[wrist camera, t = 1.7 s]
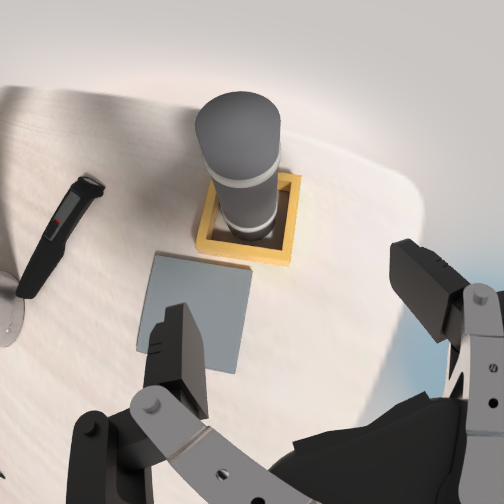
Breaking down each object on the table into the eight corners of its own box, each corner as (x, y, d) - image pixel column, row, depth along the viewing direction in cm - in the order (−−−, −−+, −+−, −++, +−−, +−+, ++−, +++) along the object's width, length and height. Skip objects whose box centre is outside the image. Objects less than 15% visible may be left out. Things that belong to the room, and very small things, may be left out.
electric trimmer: (24, 289, 28) (6, 285, 25) (89, 177, 31) (76, 165, 28) (40, 308, 28) (22, 305, 25) (109, 190, 31) (96, 177, 28)
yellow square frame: (199, 252, 28) (194, 246, 26) (217, 175, 30) (214, 164, 28) (288, 266, 27) (290, 261, 25) (299, 185, 29) (301, 175, 27)
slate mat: (138, 350, 26) (136, 351, 25) (157, 256, 28) (155, 254, 27) (235, 373, 25) (234, 374, 24) (252, 271, 27) (252, 270, 27)
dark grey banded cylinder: (221, 238, 28) (182, 152, 15) (231, 192, 29) (205, 88, 16) (272, 245, 28) (276, 161, 14) (279, 198, 29) (286, 94, 16)
